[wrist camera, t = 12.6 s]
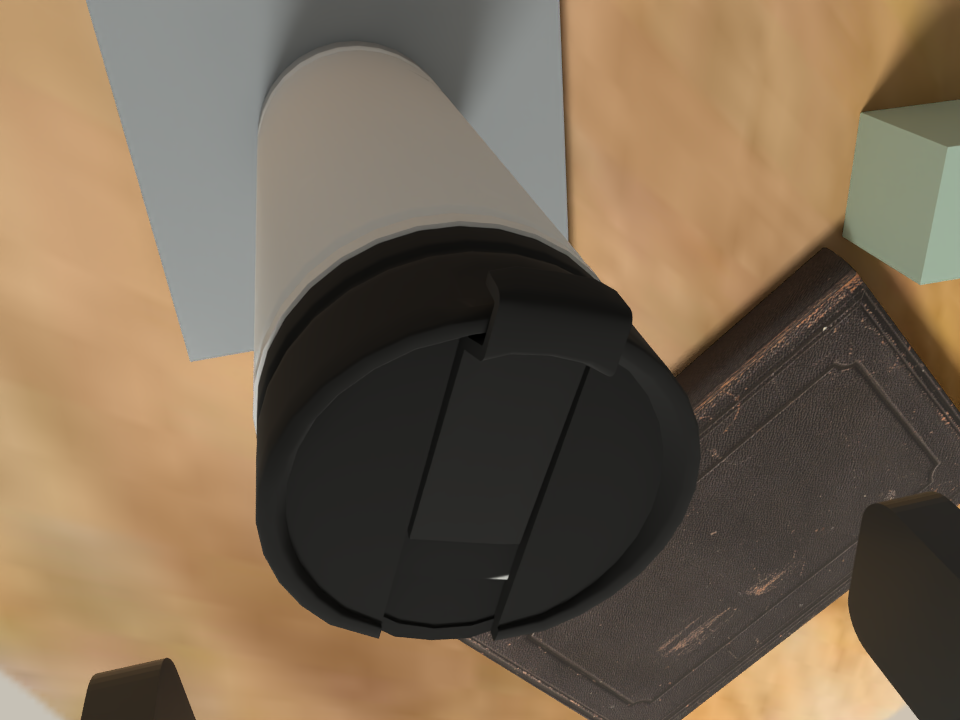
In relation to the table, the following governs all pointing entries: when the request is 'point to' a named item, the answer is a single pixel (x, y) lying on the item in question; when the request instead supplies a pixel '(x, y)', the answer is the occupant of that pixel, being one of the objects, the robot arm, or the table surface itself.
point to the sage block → (908, 190)
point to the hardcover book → (759, 502)
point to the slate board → (241, 93)
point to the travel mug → (441, 374)
